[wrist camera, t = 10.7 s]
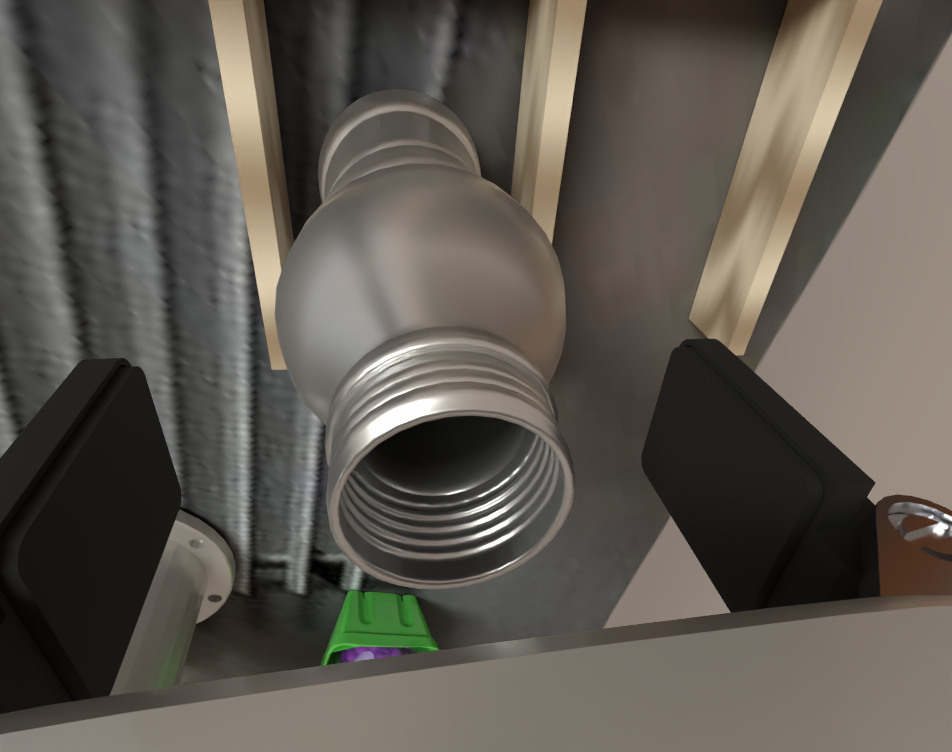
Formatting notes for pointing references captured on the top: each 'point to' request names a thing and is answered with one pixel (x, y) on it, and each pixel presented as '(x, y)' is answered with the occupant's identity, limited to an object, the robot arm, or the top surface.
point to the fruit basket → (378, 628)
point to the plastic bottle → (427, 350)
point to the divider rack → (545, 135)
